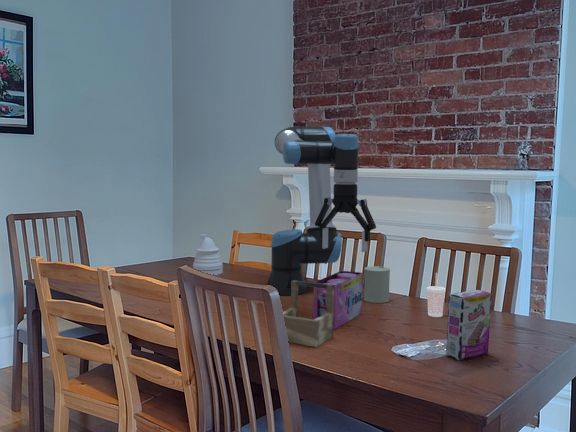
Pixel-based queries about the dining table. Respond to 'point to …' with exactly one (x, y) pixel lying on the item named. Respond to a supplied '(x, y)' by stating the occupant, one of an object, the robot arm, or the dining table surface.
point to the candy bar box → (468, 324)
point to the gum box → (340, 296)
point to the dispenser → (305, 328)
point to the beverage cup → (435, 300)
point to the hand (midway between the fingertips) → (344, 249)
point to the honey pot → (208, 257)
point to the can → (376, 284)
